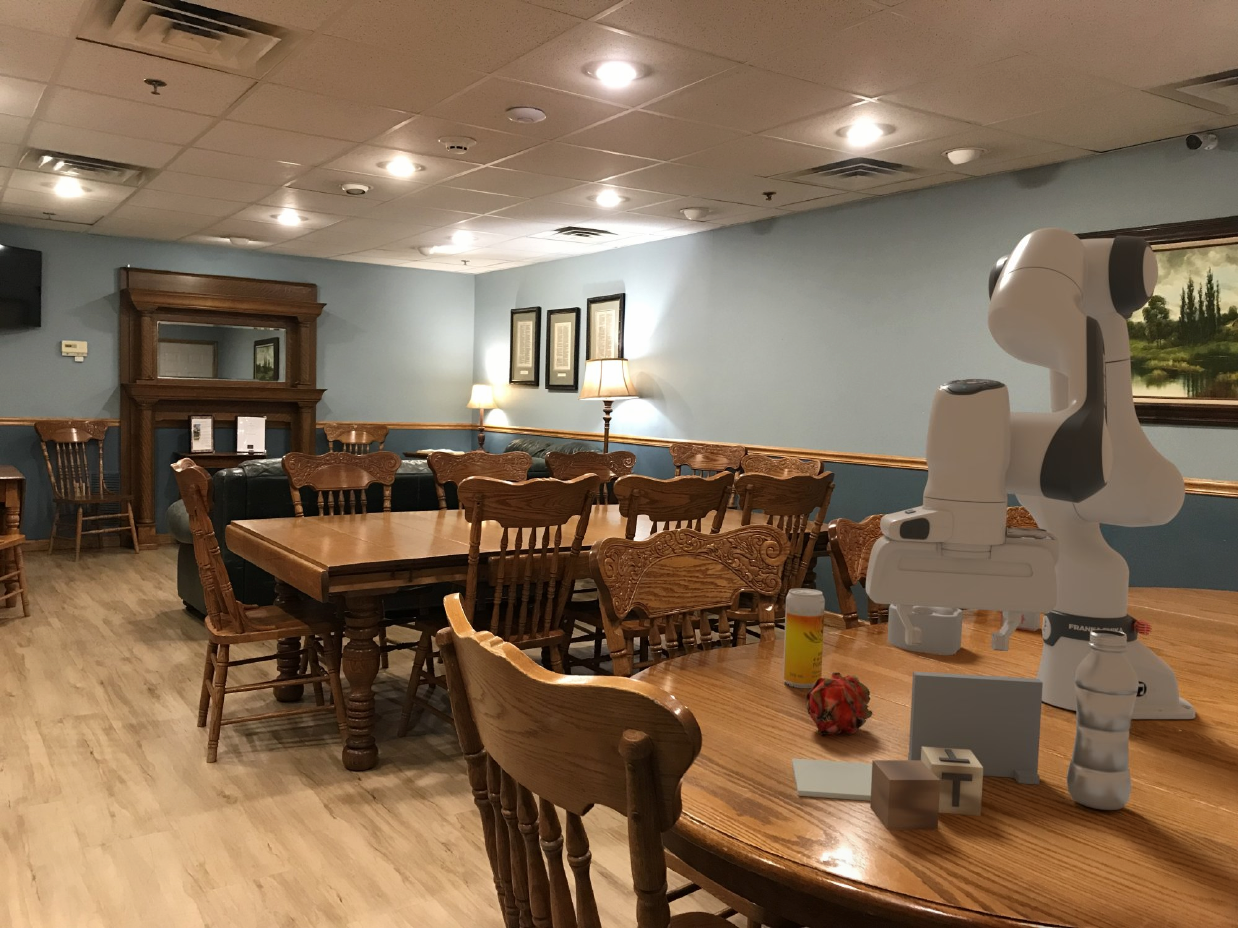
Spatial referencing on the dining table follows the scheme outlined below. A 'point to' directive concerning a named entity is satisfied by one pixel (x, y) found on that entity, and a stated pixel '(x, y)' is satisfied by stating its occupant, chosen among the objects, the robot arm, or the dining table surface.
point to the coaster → (833, 779)
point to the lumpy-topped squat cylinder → (928, 629)
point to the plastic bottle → (1103, 723)
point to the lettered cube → (956, 779)
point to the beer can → (803, 637)
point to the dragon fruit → (838, 704)
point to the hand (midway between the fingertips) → (955, 646)
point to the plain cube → (905, 795)
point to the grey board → (979, 720)
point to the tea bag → (1026, 621)
